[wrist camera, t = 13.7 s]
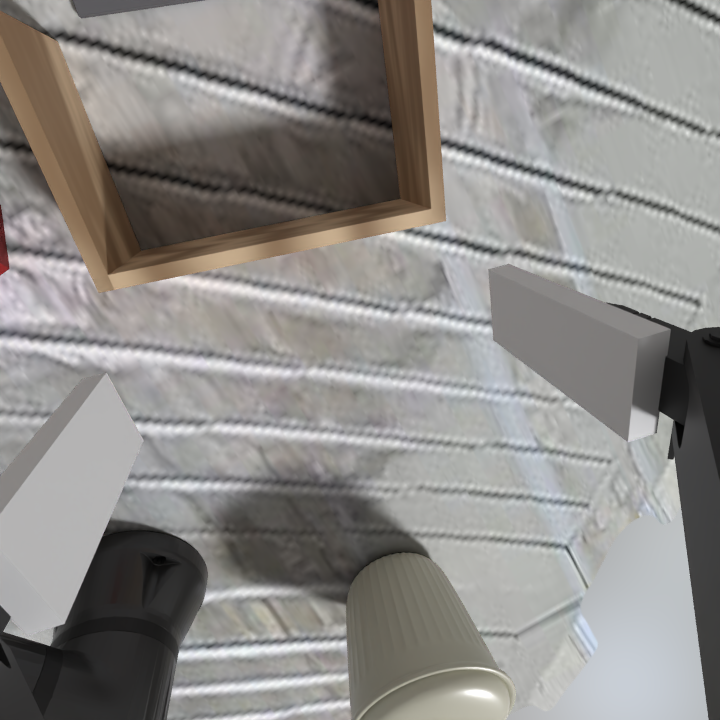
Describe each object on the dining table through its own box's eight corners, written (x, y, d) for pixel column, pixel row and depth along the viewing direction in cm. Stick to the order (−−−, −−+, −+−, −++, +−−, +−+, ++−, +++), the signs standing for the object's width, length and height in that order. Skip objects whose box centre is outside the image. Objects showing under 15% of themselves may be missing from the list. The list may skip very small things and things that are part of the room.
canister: (463, 522, 56) (560, 706, 37) (448, 611, 64) (521, 800, 45) (326, 541, 53) (357, 753, 34) (327, 632, 60) (353, 846, 42)
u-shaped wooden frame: (133, 265, 35) (98, 292, 28) (41, 43, 28) (-35, 6, 21) (412, 208, 37) (446, 221, 30) (390, -9, 30) (427, -59, 23)
